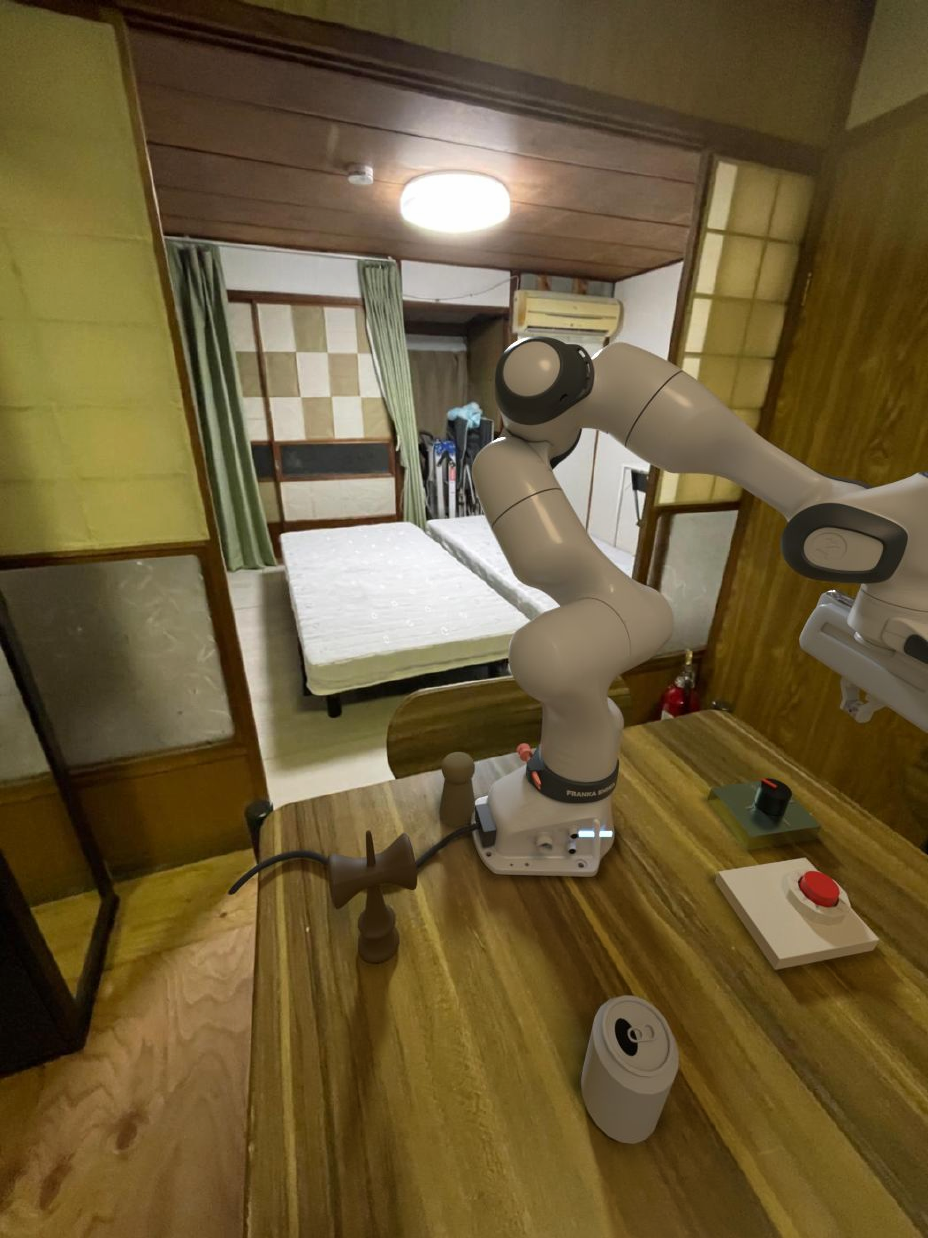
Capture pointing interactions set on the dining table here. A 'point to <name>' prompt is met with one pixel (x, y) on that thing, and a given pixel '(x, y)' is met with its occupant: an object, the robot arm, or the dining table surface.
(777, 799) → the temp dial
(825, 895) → the power button
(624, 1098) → the can
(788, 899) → the white button base
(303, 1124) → the dining table surface
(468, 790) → the brown wooden peg doll
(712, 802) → the dial plate
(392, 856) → the kendama
